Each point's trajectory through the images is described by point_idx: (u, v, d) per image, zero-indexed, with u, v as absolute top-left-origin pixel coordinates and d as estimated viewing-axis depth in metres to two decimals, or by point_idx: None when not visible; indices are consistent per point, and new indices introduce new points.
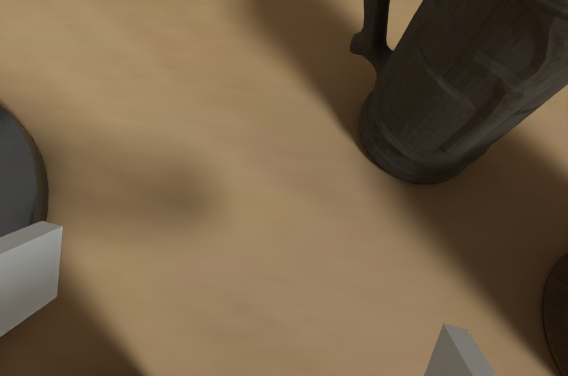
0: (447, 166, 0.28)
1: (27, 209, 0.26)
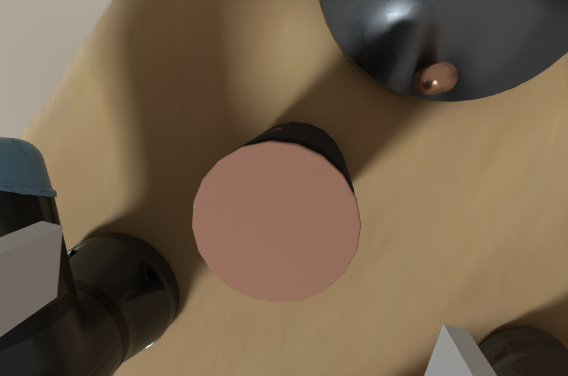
0: None
1: (468, 97, 0.34)
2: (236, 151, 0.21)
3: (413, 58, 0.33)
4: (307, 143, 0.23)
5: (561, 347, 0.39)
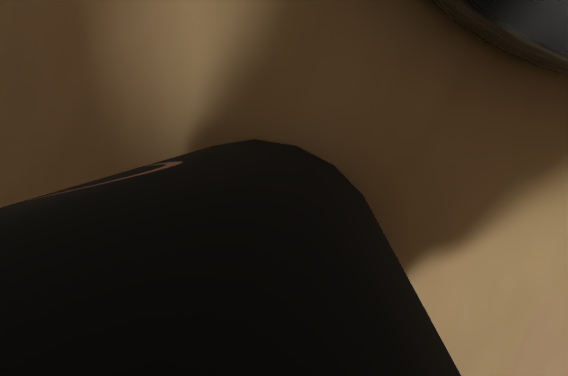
0: None
1: None
2: None
3: None
4: None
5: None
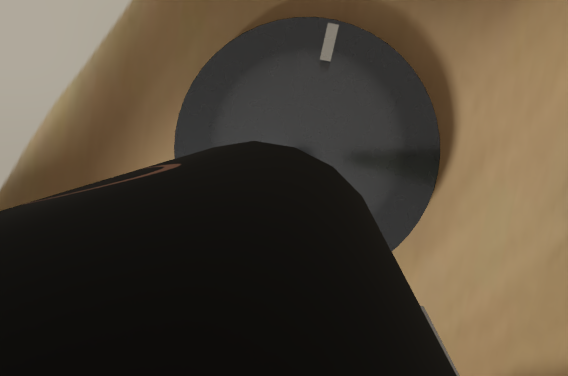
0: None
1: None
2: None
3: None
4: None
5: None
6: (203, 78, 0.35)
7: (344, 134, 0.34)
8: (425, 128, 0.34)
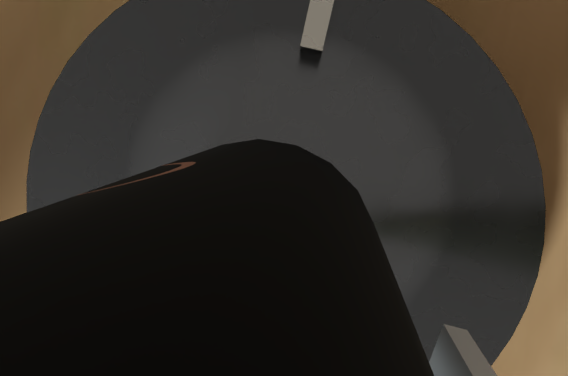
0: None
1: None
2: None
3: None
4: None
5: None
6: (70, 83, 0.17)
7: None
8: (517, 190, 0.16)
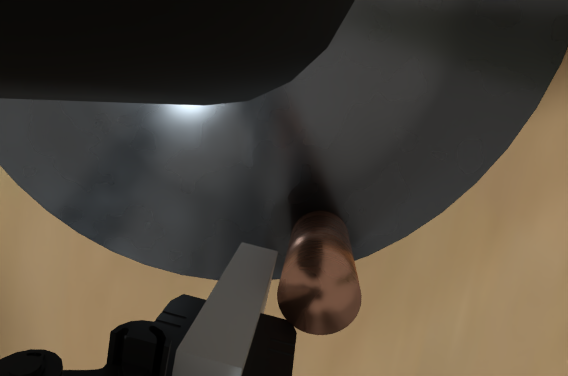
0: None
1: (425, 216, 0.15)
2: None
3: (270, 208, 0.15)
4: None
5: None
6: None
7: None
8: None
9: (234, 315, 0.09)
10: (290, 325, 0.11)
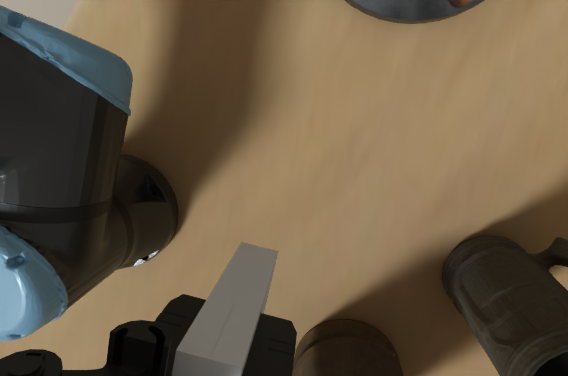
0: (451, 288, 0.43)
1: None
2: None
3: None
4: None
5: (521, 250, 0.43)
6: None
7: None
8: None
9: (234, 315, 0.09)
10: (290, 325, 0.11)
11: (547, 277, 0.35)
